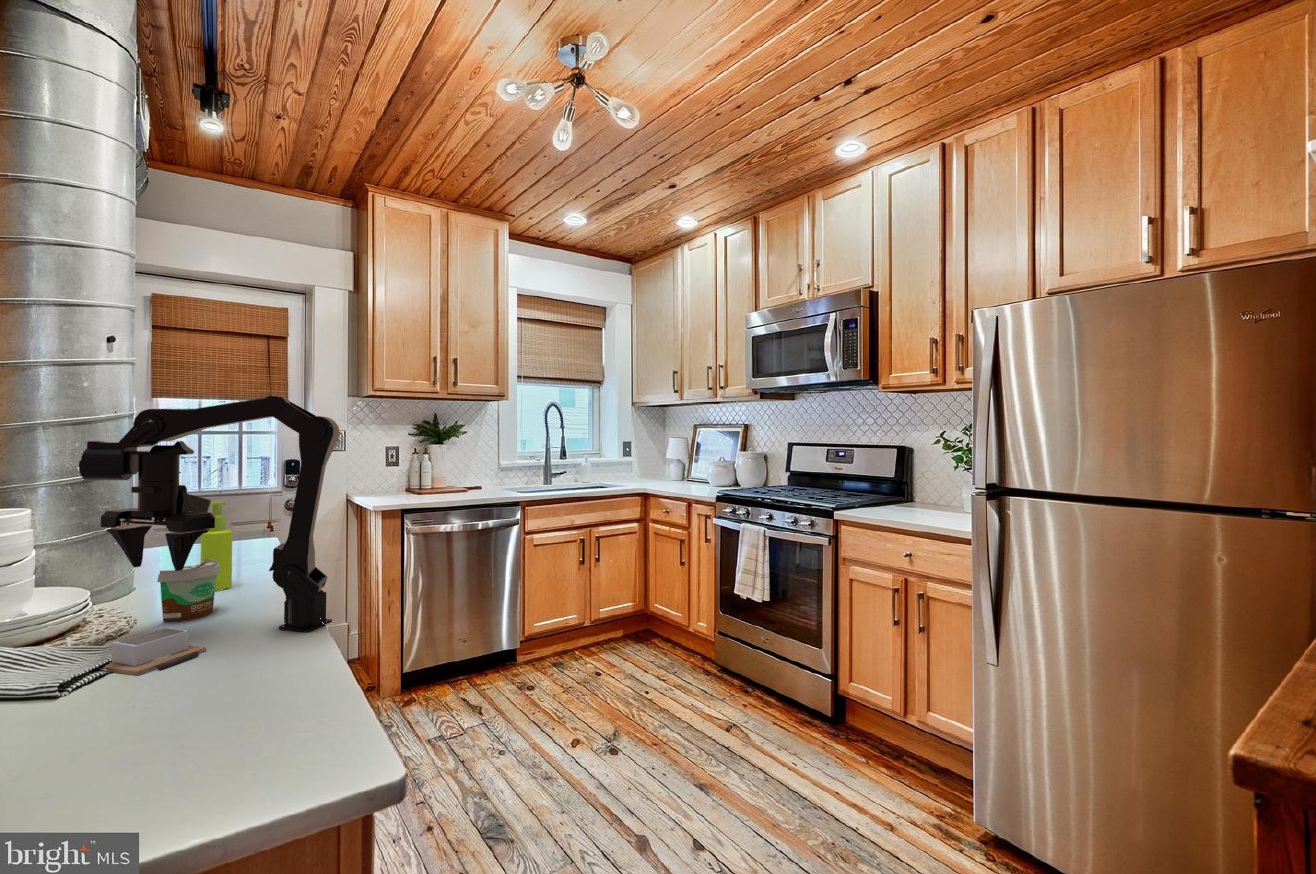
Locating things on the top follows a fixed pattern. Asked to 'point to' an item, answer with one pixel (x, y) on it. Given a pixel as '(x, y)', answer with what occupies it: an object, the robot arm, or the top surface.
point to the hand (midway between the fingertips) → (157, 568)
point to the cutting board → (156, 662)
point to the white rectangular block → (149, 646)
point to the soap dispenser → (219, 547)
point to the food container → (188, 591)
